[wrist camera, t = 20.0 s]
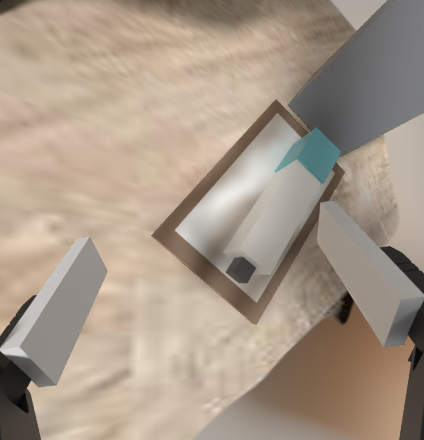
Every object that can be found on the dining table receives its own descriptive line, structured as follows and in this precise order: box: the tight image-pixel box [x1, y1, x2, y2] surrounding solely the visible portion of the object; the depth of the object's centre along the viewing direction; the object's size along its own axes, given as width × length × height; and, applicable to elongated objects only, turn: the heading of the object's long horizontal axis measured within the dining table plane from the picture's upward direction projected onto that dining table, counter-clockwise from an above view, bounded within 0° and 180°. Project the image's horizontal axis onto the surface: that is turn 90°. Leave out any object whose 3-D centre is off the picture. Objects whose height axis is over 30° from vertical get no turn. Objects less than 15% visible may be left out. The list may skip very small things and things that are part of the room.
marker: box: [222, 127, 341, 283], centre depth 31 cm, size 5×22×5 cm, turn 144°
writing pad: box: [151, 100, 345, 324], centre depth 34 cm, size 16×28×1 cm, turn 141°
